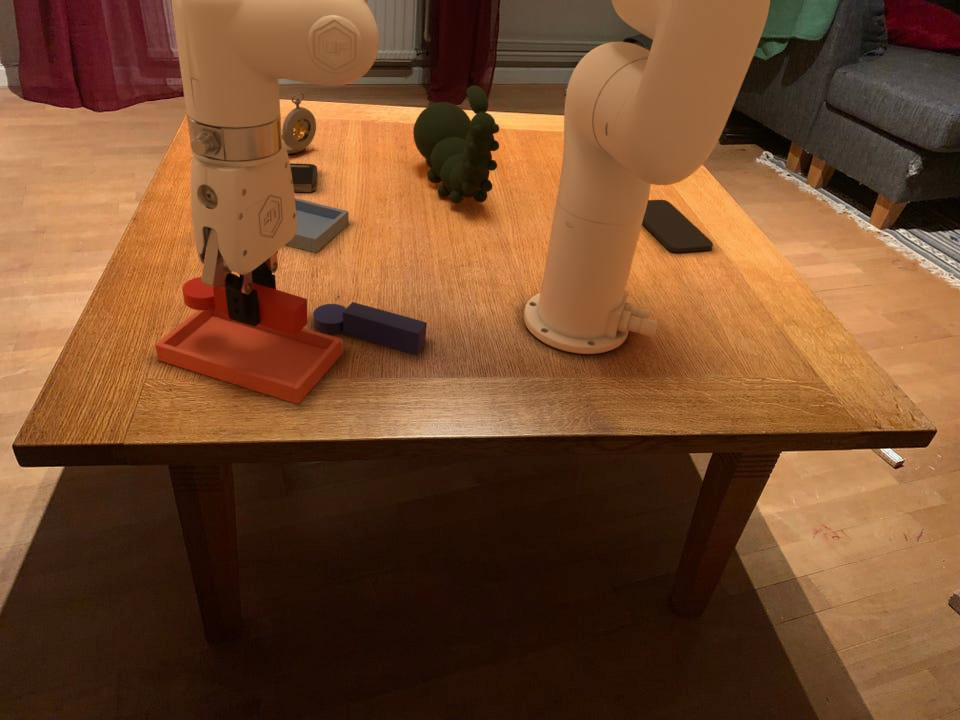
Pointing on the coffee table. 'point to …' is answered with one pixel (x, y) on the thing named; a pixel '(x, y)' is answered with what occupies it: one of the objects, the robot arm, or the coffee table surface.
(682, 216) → the phone
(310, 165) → the phone
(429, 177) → the toy figurine
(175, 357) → the red tray
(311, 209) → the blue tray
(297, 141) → the pocket watch
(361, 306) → the blue spoon
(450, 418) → the coffee table surface
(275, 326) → the red spoon
